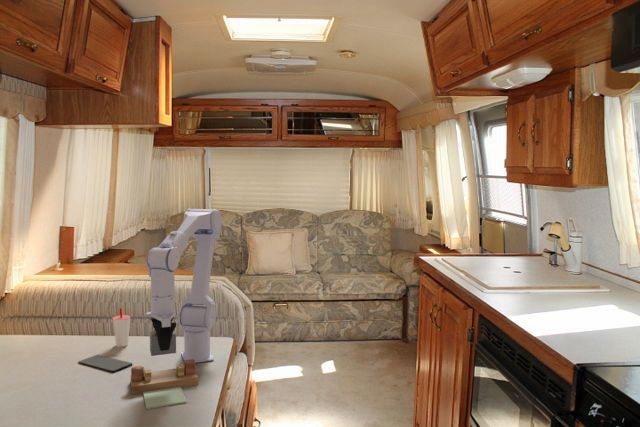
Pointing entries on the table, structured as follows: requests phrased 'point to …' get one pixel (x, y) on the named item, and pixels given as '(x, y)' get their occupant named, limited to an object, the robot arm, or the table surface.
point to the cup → (121, 329)
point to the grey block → (155, 345)
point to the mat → (164, 397)
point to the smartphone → (105, 363)
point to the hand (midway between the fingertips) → (163, 347)
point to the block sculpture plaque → (163, 377)
